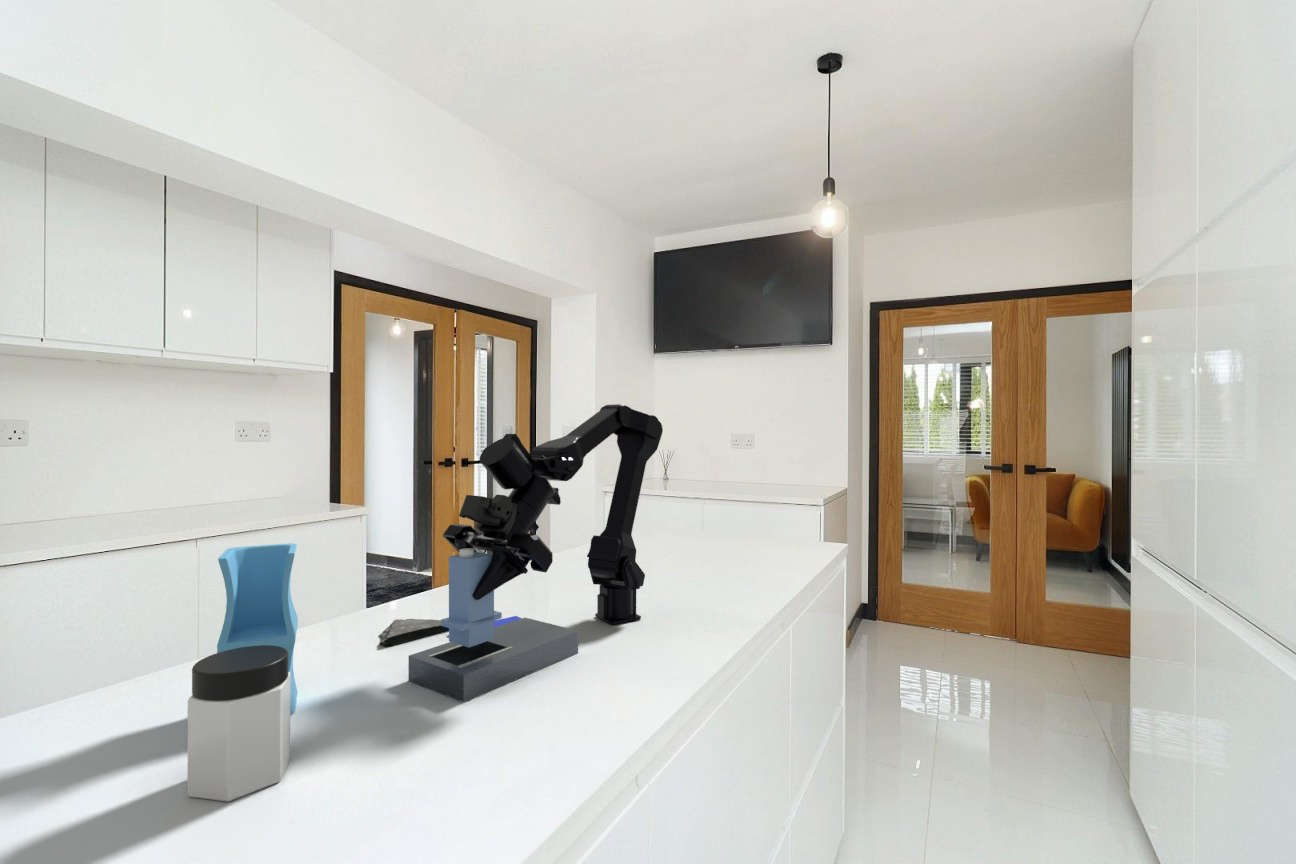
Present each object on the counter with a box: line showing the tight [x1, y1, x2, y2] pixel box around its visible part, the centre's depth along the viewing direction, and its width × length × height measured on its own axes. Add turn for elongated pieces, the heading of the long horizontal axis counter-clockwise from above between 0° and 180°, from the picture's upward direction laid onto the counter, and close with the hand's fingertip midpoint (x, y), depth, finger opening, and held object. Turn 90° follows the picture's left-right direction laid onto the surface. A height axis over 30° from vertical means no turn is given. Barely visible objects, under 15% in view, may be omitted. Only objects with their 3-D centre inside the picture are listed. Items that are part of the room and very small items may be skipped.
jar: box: [186, 645, 291, 803], centre depth 62 cm, size 9×8×12 cm
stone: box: [378, 618, 449, 646], centre depth 108 cm, size 13×10×2 cm
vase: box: [216, 542, 299, 716], centre depth 77 cm, size 8×8×20 cm
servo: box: [440, 548, 503, 647], centre depth 88 cm, size 7×4×13 cm, turn 145°
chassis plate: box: [408, 617, 579, 703], centre depth 92 cm, size 22×12×4 cm, turn 145°
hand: (463, 595), depth 87 cm, fingers closed on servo, 4 cm apart
